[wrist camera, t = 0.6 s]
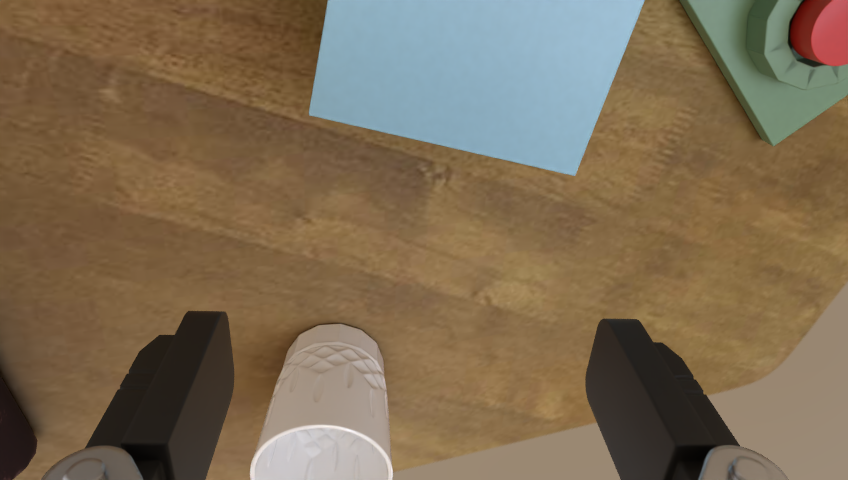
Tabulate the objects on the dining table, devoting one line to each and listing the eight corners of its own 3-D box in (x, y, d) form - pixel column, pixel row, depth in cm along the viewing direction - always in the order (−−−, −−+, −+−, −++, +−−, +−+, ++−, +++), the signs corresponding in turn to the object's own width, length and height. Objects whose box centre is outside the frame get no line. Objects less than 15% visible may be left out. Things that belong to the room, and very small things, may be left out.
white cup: (265, 386, 43) (233, 507, 34) (298, 300, 39) (273, 409, 31) (368, 414, 44) (363, 535, 36) (408, 334, 41) (414, 446, 32)
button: (777, 19, 30) (799, 24, 29) (845, -32, 29) (870, -30, 28) (806, 73, 31) (828, 81, 30) (871, 26, 31) (897, 32, 29)
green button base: (673, -8, 32) (700, -2, 29) (833, -138, 29) (877, -143, 27) (762, 140, 36) (791, 157, 33) (907, 38, 34) (951, 48, 31)
